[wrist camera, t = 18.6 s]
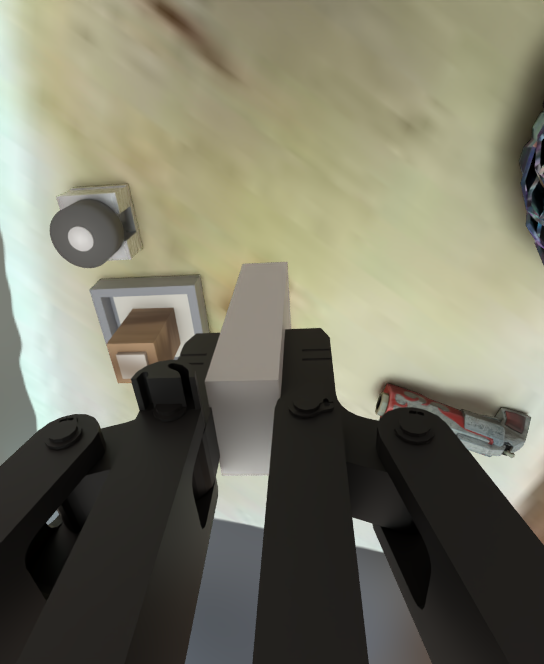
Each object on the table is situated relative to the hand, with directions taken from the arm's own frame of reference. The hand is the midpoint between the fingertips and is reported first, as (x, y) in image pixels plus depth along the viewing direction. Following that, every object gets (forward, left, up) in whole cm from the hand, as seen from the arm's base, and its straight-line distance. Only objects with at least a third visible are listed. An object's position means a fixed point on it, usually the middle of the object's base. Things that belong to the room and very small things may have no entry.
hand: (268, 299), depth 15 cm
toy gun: (+32, +19, -33) cm, 49 cm away
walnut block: (+18, -17, -31) cm, 40 cm away
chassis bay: (+18, -17, -32) cm, 41 cm away
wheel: (+5, -20, -32) cm, 38 cm away
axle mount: (+5, -20, -32) cm, 38 cm away
